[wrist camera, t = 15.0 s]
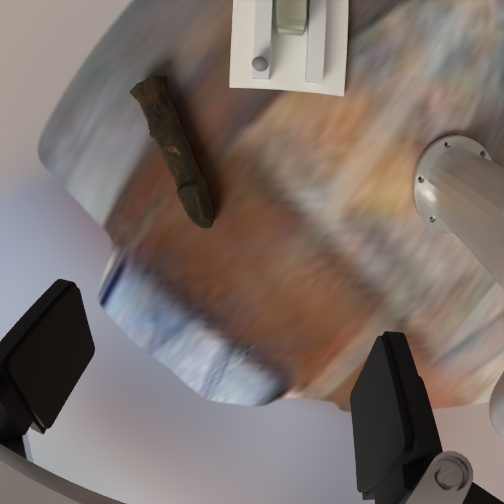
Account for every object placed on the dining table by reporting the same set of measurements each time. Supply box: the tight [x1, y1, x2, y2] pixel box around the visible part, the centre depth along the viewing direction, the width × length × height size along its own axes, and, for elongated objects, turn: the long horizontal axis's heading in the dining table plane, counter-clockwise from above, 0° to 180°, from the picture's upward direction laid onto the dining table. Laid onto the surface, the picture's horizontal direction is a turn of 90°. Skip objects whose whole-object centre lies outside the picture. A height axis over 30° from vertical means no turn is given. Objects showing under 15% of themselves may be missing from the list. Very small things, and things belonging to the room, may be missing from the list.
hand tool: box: [130, 76, 214, 228], centre depth 35 cm, size 19×4×5 cm, turn 18°
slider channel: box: [230, 0, 348, 96], centre depth 25 cm, size 12×18×6 cm, turn 177°
